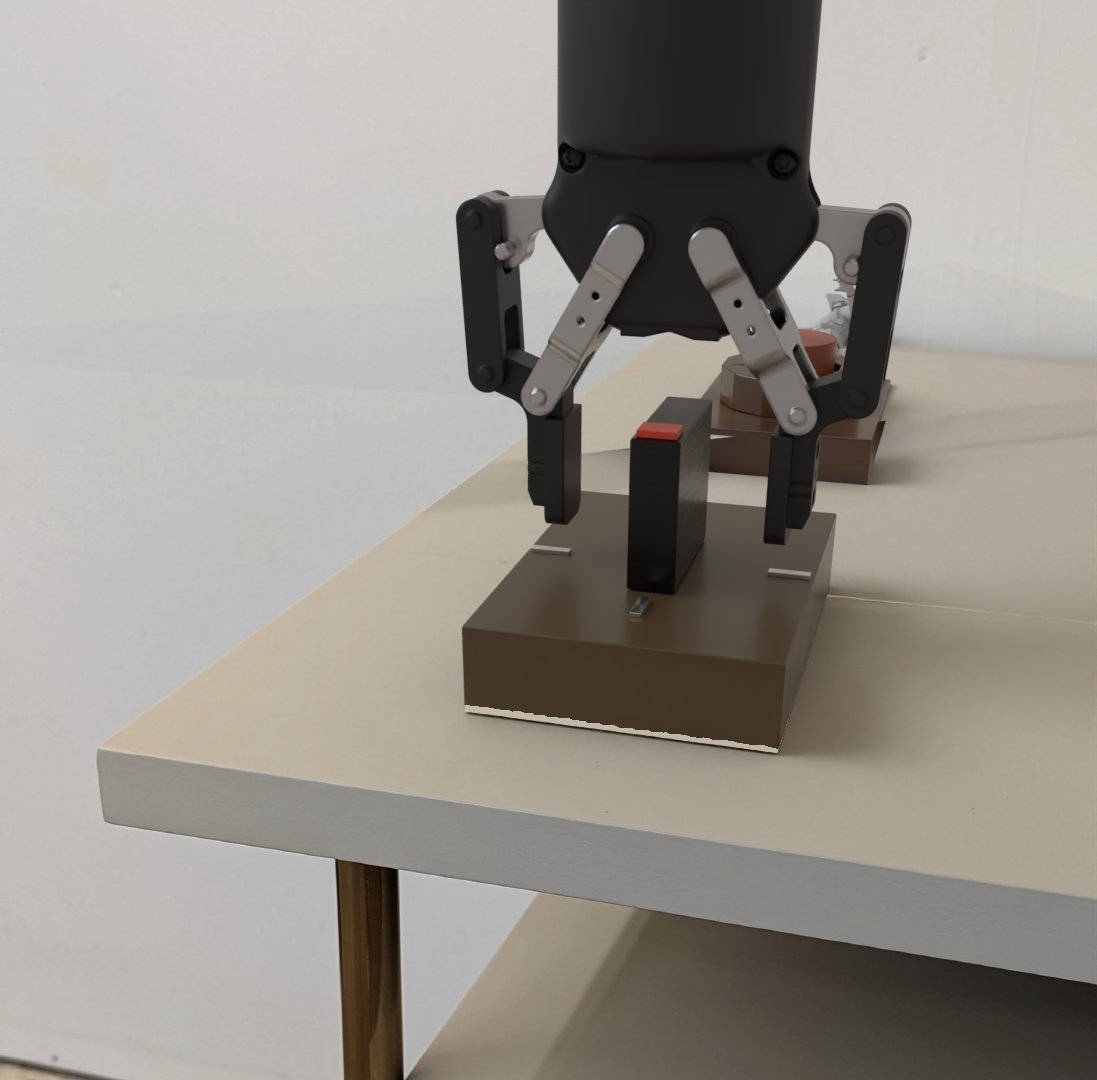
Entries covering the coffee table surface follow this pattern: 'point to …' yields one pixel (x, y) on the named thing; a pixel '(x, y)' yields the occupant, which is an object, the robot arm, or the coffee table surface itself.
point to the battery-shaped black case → (668, 493)
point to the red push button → (820, 350)
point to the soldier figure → (838, 314)
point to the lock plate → (654, 627)
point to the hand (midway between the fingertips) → (667, 526)
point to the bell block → (754, 421)
